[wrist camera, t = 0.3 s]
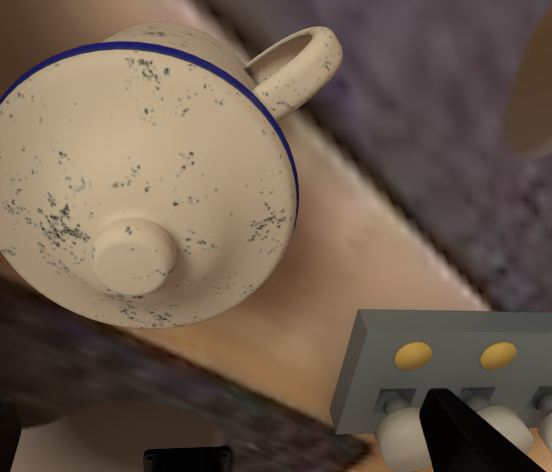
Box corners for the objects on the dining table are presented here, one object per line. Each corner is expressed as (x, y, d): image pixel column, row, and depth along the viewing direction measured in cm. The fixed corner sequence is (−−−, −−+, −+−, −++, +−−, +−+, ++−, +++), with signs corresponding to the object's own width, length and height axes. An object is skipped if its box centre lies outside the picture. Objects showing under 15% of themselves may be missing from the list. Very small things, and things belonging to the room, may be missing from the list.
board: (549, 405, 36) (568, 428, 34) (329, 410, 32) (336, 436, 31) (611, 313, 30) (637, 335, 29) (358, 309, 27) (368, 333, 26)
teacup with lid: (164, 240, 23) (126, 437, 13) (23, 101, 19) (-195, 242, 9) (355, 110, 21) (484, 233, 11) (244, -87, 16) (288, -185, 6)
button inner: (414, 422, 31) (435, 470, 28) (361, 424, 30) (377, 473, 27) (431, 384, 29) (456, 432, 26) (375, 385, 28) (393, 434, 25)
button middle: (490, 420, 32) (518, 466, 29) (440, 421, 31) (464, 469, 28) (511, 383, 30) (544, 429, 27) (458, 384, 29) (486, 431, 26)
